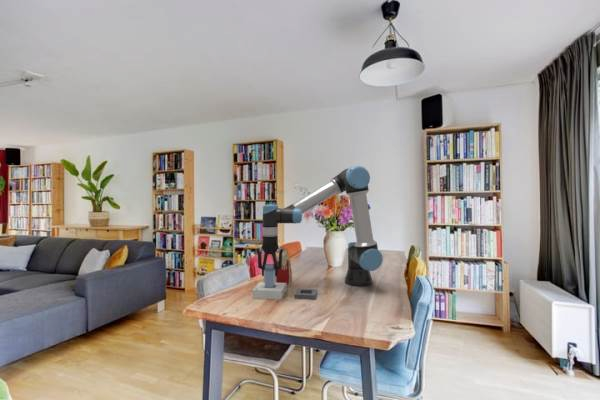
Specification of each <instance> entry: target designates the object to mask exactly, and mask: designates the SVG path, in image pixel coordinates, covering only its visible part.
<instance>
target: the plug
mask: <svg viewBox="0 0 600 400" xmlns="http://www.w3.org/2000/svg"><path fill="white" fill-rule="evenodd" d="M274 269H275V267H274V263H266V265H265V288H275V284H273V271H274Z"/></svg>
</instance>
